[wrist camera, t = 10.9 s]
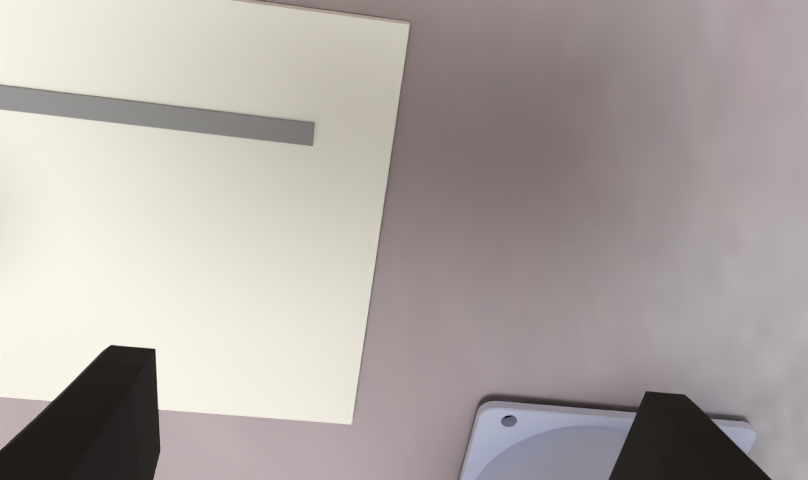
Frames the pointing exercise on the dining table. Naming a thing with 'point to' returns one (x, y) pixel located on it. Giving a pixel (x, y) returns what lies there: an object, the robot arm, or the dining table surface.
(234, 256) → the paper
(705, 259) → the dining table surface
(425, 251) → the dining table surface
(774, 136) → the dining table surface
